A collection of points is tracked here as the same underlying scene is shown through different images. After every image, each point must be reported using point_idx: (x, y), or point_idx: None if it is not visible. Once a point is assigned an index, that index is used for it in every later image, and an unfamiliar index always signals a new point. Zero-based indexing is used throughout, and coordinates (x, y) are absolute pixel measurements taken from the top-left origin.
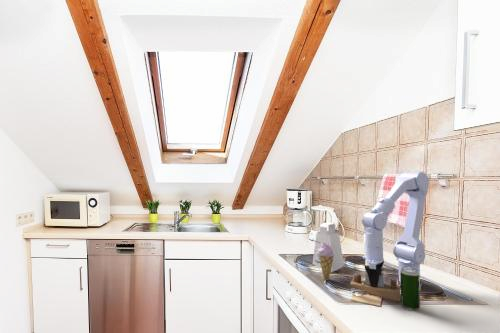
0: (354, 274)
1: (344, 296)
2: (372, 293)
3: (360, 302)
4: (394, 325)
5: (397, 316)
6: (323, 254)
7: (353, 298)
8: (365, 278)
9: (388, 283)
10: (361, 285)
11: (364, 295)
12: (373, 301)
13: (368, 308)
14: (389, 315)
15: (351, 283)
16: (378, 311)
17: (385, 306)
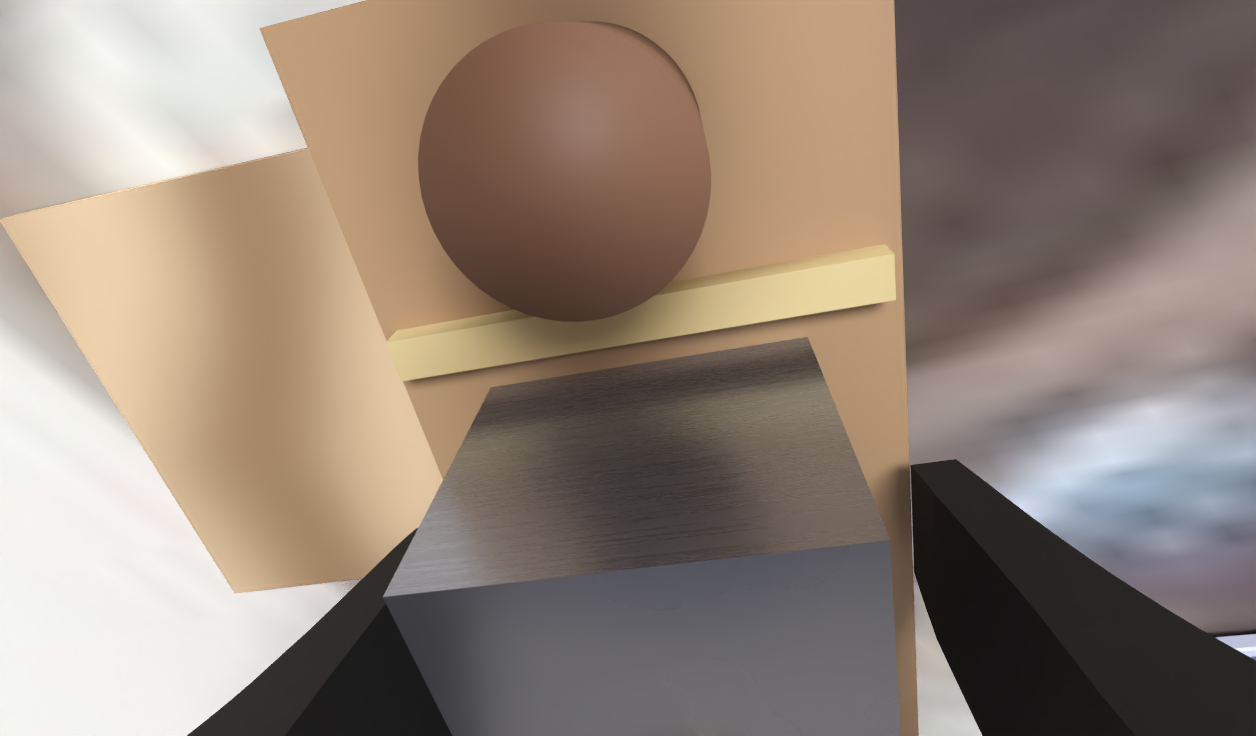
0: (506, 72)
1: (47, 22)
2: None
3: (102, 360)
4: (2, 727)
5: (197, 726)
6: None
7: (75, 236)
8: (439, 492)
9: (906, 691)
10: (384, 329)
11: (363, 349)
12: (272, 508)
13: (64, 486)
14: (141, 676)
15: (286, 62)
16: (112, 586)
17: (315, 617)
